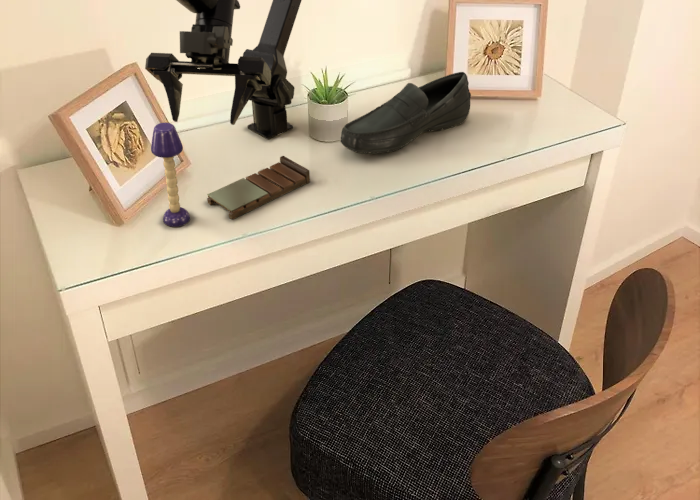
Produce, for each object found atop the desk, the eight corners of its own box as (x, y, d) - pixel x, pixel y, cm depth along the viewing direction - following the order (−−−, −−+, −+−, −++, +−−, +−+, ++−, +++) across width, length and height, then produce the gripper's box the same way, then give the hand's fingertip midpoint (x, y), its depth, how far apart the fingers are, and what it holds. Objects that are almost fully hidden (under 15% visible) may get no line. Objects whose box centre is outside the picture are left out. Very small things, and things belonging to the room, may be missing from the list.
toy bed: (232, 220, 121) (231, 207, 119) (207, 202, 125) (205, 190, 123) (310, 182, 130) (309, 170, 128) (284, 167, 134) (283, 155, 132)
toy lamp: (193, 210, 123) (179, 117, 113) (194, 226, 119) (179, 132, 109) (163, 213, 122) (146, 120, 112) (163, 230, 118) (145, 135, 108)
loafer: (329, 150, 138) (327, 99, 132) (438, 103, 154) (441, 55, 148) (367, 172, 132) (367, 119, 126) (477, 120, 147) (482, 71, 141)
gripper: (136, 1, 112) (124, 104, 111) (259, 5, 110) (249, 110, 108) (163, 31, 123) (153, 125, 122) (275, 35, 121) (266, 131, 119)
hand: (203, 122), depth 118 cm, fingers open, 9 cm apart
